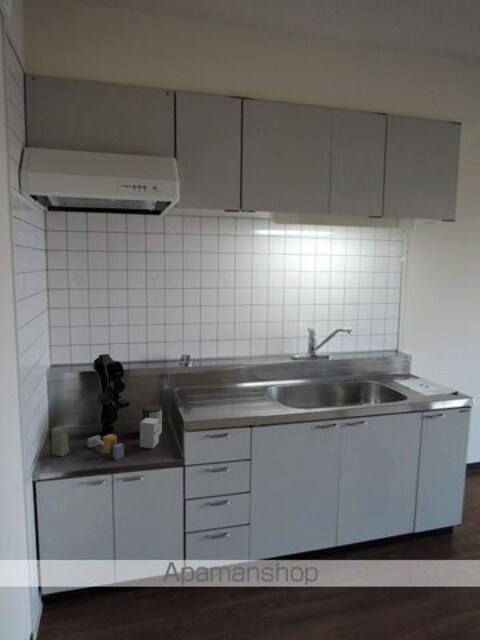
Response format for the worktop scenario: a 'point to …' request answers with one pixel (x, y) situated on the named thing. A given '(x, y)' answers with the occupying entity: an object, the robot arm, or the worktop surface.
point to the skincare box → (60, 441)
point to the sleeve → (109, 442)
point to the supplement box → (149, 432)
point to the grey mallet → (115, 449)
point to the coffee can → (153, 413)
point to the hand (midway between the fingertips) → (113, 416)
